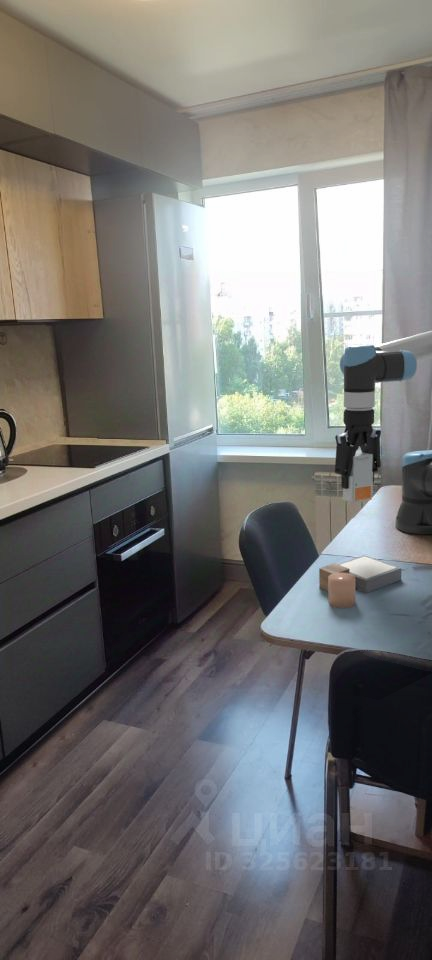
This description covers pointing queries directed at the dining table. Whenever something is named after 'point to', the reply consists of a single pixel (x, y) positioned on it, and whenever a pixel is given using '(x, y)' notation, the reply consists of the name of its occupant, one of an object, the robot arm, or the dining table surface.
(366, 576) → the podium
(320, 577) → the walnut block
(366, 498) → the skincare box
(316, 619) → the dining table surface
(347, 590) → the peach rounded capsule
